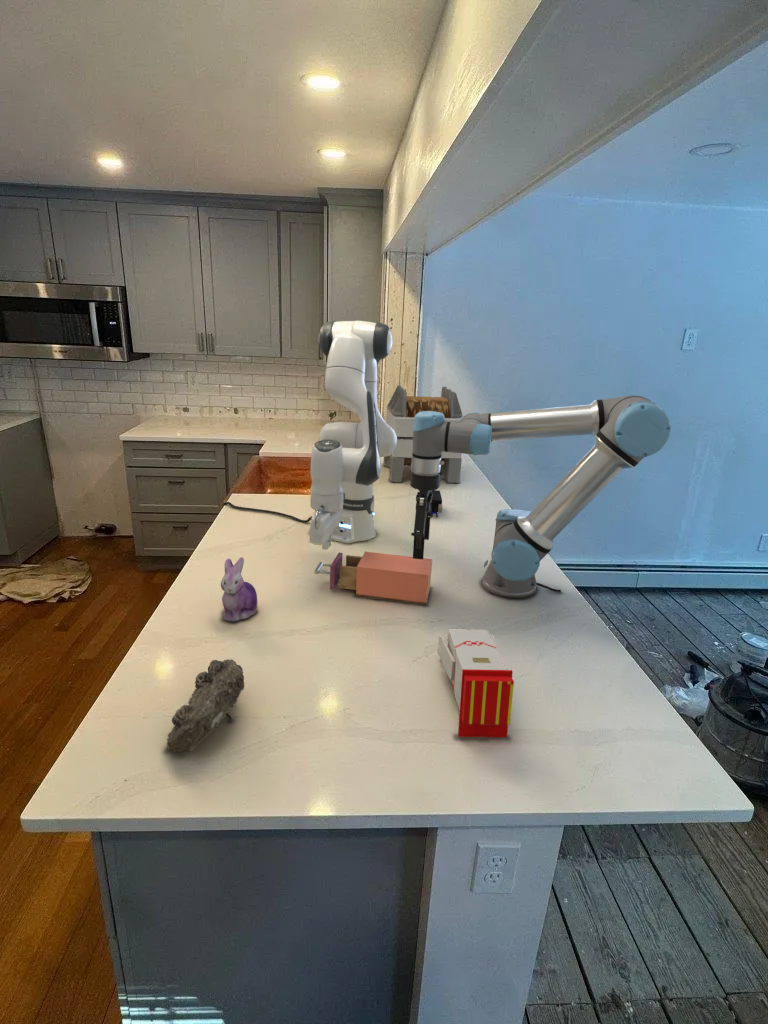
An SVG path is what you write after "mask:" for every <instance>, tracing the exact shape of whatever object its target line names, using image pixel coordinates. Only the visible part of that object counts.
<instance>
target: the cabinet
mask: <svg viewBox="0 0 768 1024" xmlns="http://www.w3.org/2000/svg"><path fill="white" fill-rule="evenodd" d="M361 557H362V558H361V560H360V562H359V564H358V566H357V579H356V590H355V597H356V598H362V599H363V598H364V599H370V600H371V599H373V600H380V601H388V602H395V603H396V602H397V603H403V604H412V605H419V606H427V603H428V598H429V595H430V591H431V580H432V569H433V558H426V557H423V560H422V559H413V556H410V555H401V554H391V553H383V552H382V553H381V552H375V551H374V552H373V551H364V553H363V554H362V556H361Z"/></svg>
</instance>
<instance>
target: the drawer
mask: <svg viewBox="0 0 768 1024" xmlns="http://www.w3.org/2000/svg"><path fill="white" fill-rule="evenodd" d="M343 554H344V553H343V552H338V553H337V554H336V556H335V557H334V559H333V561H332V562H331V564H330V563H324V562H322V561H320V562H319V563H318V564H317V565H316V567H315V569H314V571H313V573H314V575H318V574H322V575H323V574H324V575H329V590H333V591H334V590H335V589H336V587H337V585H338V584H339V589H345V590H352V591H353V590H354V591H356V579H357V566H358V564H359V562H360V560H361V558H362V556H358V555H348V554H347V555H346V556H345V565H343V564H344V563H343V557H344V555H343ZM323 567H326V568H329V571H328V570H322V568H323Z"/></svg>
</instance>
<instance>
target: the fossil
mask: <svg viewBox="0 0 768 1024" xmlns="http://www.w3.org/2000/svg"><path fill="white" fill-rule="evenodd" d="M243 670H244V669H243V667H242V665H240V664H237V662H236V661H235V660H234V659H232V658H231V659H227V658H226V659H224V660H223V661H222V660H217V659H212V660H211V661H210V663H209V665H208V666H207V671H201V672H199V673H198V674H197V675H196V676H195V680H194V684H195V685H194V687H195V689H194V690H193V693H192V694H191V697H190V698H189V700H188V704H184V705H182V706H181V707H180V709H177V710H176V711H175V713H174V715H173V716H172V718H171V723H172V724H173V727H172V730H171V731H170V732H168V734H167V738H166V741H167V742H166V745H167V749H168V750H169V751H173V752H174V753H176V754H178V753H182V752H188V751H189V752H192V751H193V750H195V748H196V747H197V746H199V744H200V743H201V742H203V741H204V740H205V739H206V738H207V737H208V736H209V735H210V734H211V733H212V732H214V730H215V729H217V727H218V726H219V724H220V722H221V721H222V720H223V719H224V718H225V716H226V717H227V719H229V720H233V717H232V715H230V714H229V710H230V709H231V708H234V706H235V704H236V703H237V702H238V699H239V697H240V695H241V693H242V691H243V690H245V689H244V688H245V675H244V671H243Z"/></svg>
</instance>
